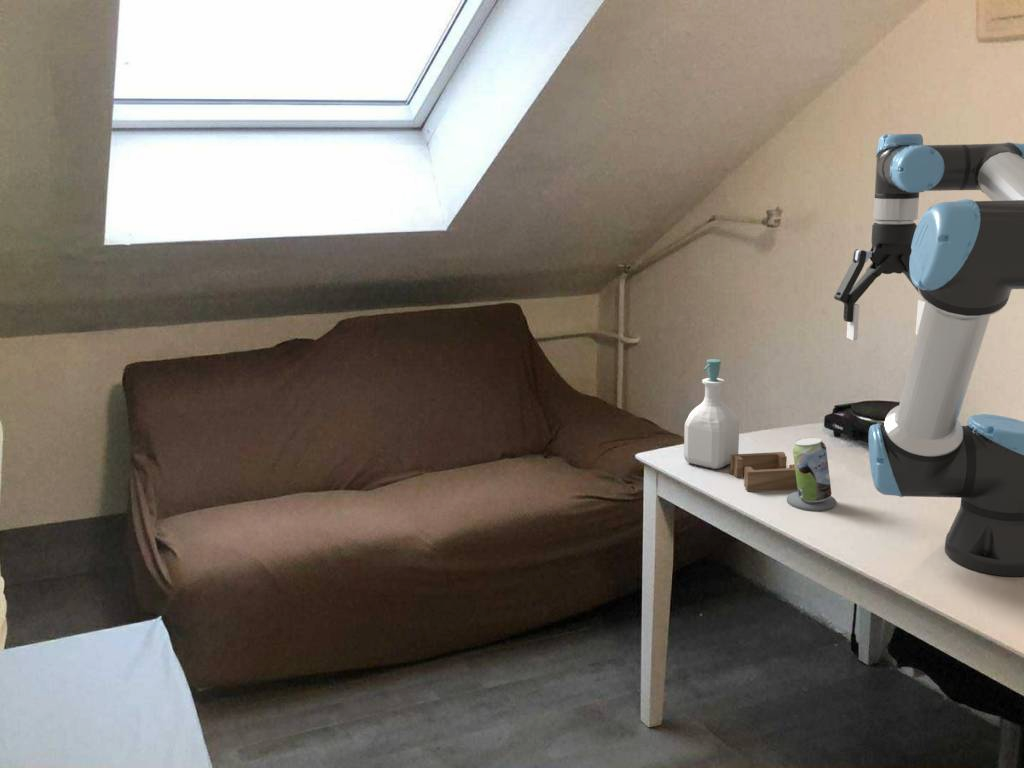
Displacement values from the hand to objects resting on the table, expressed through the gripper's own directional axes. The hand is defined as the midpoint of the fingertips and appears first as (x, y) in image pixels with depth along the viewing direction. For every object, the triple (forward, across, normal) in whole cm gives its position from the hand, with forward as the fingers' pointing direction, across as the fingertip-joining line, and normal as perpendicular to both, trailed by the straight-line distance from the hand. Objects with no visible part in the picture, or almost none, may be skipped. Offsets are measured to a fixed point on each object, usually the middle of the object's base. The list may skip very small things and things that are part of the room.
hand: (886, 337), depth 179 cm
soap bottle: (+31, +24, -25) cm, 47 cm away
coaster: (+31, +13, +1) cm, 34 cm away
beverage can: (+31, +14, +1) cm, 34 cm away
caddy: (+31, +17, -12) cm, 38 cm away
